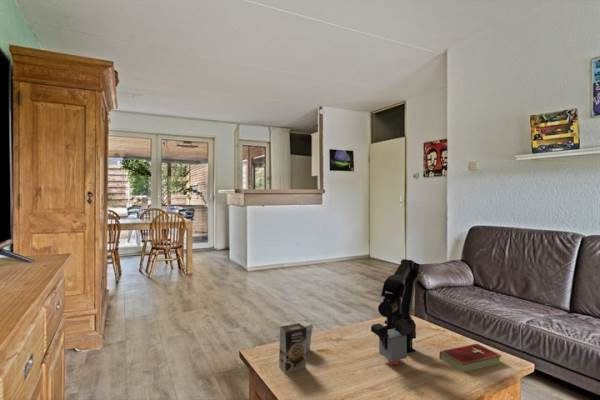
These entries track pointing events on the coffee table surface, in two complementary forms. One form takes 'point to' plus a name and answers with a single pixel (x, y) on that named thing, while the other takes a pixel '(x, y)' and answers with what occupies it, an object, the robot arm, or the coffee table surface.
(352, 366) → the coffee table surface
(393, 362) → the ball
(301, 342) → the coffee box
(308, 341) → the coffee cup
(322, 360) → the coffee table surface
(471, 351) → the hardcover book
